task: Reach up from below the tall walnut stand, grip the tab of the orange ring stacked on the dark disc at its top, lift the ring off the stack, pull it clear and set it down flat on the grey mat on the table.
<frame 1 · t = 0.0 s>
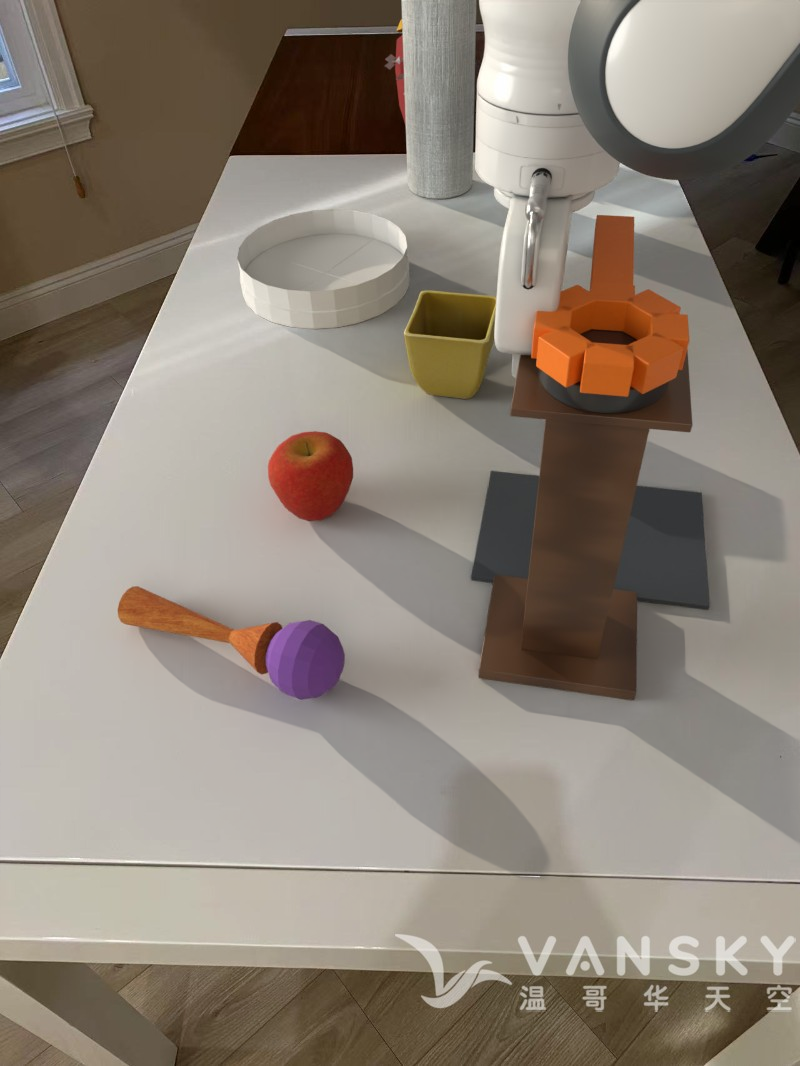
hand: (531, 336, 60), 22 cm above the table, tool pointing down, fingers open, 8 cm apart
kendama: (235, 654, 68), on the table
stand: (559, 638, 68), on the table
apple: (316, 506, 80), on the table
flower pot: (452, 387, 92), on the table
orange ring: (606, 351, 48), point 28 cm above the table, touching stand
alarm clock: (416, 129, 145), on the table
dish: (326, 284, 109), on the table
vase: (440, 187, 128), on the table
mat: (590, 536, 75), on the table
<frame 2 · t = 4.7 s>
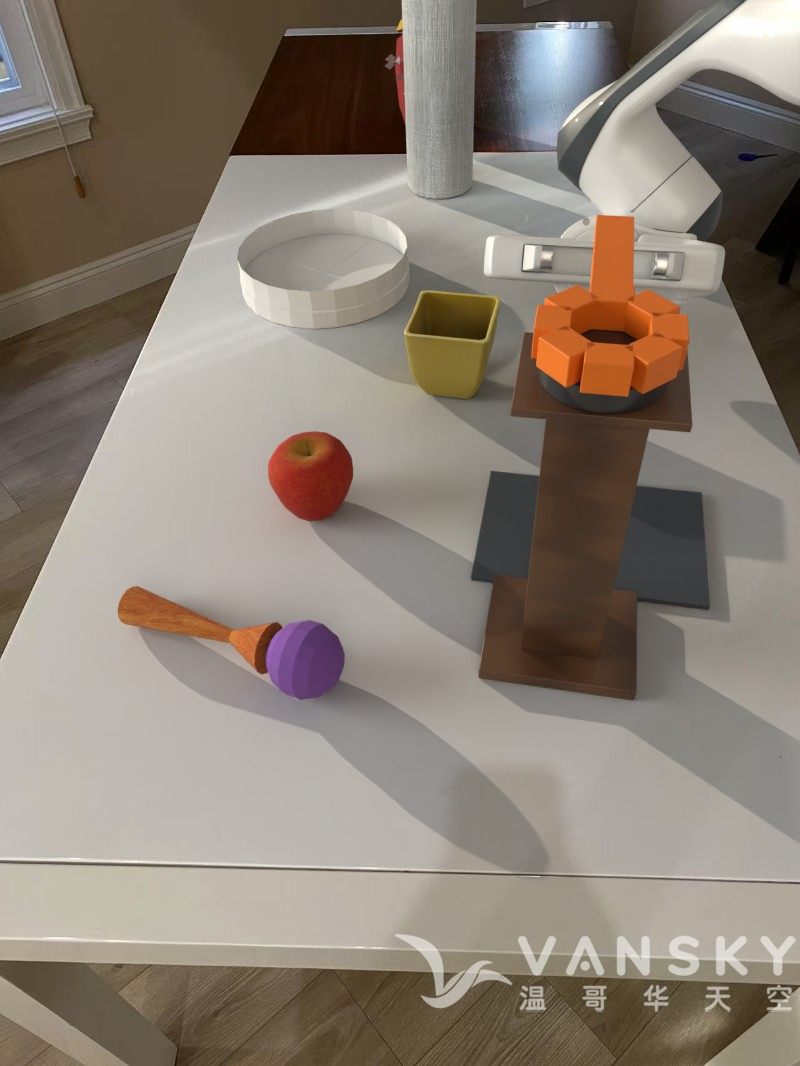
hand: (603, 260, 66), 22 cm above the table, tool pointing upward, fingers open, 8 cm apart
nothing on the table moved.
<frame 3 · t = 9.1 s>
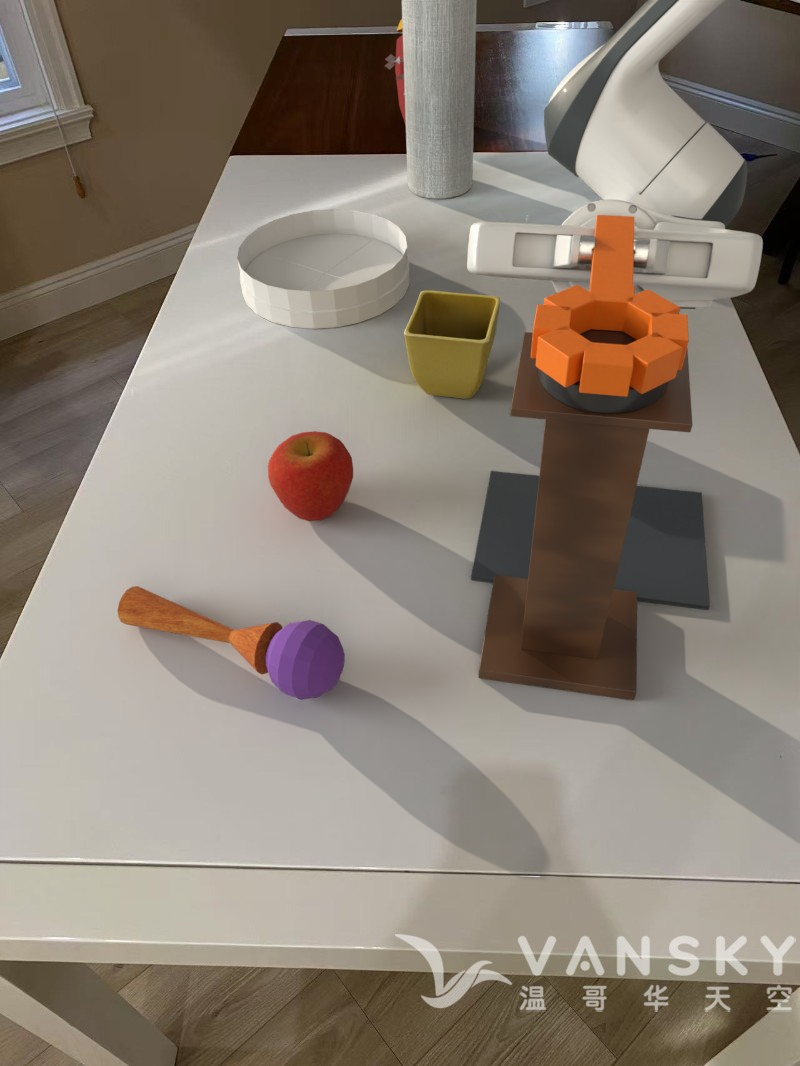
hand: (614, 251, 53), 29 cm above the table, tool pointing upward, fingers closed on orange ring, 2 cm apart
orange ring: (605, 351, 48), point 28 cm above the table, touching gripper, stand
everything else where it was.
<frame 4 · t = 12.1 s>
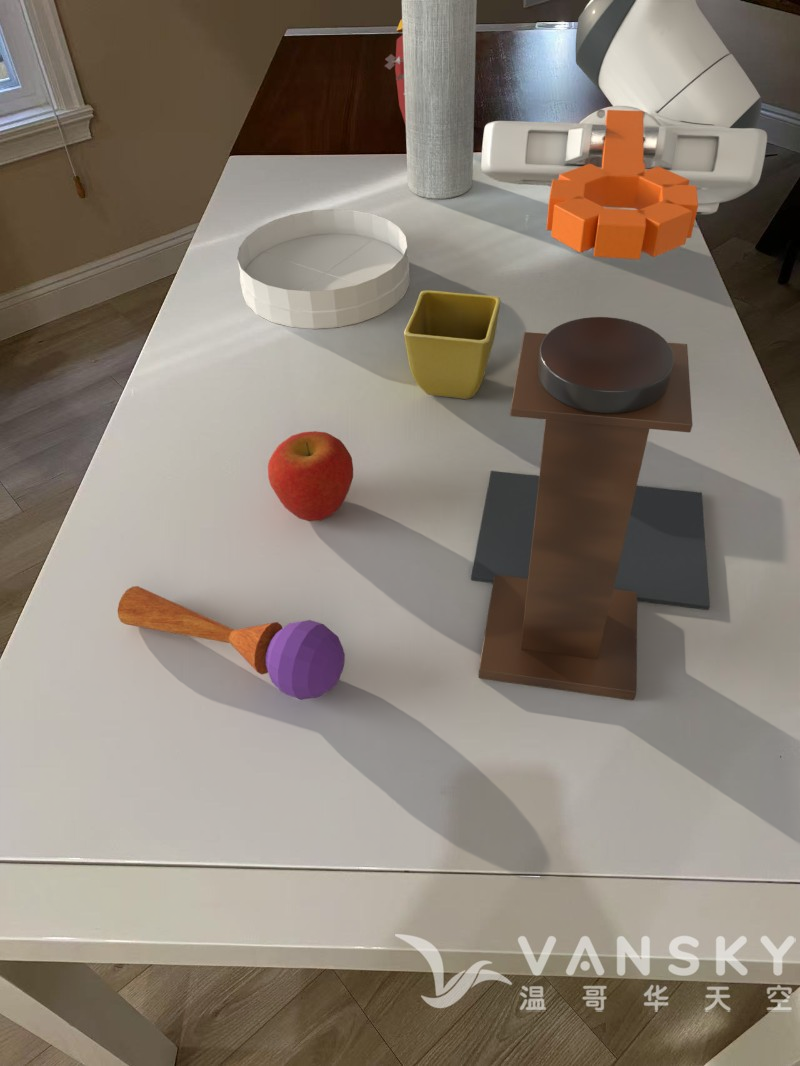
hand: (624, 139, 55), 33 cm above the table, tool pointing upward, fingers closed on orange ring, 2 cm apart
orange ring: (618, 224, 50), point 32 cm above the table, touching gripper
everything else where it was.
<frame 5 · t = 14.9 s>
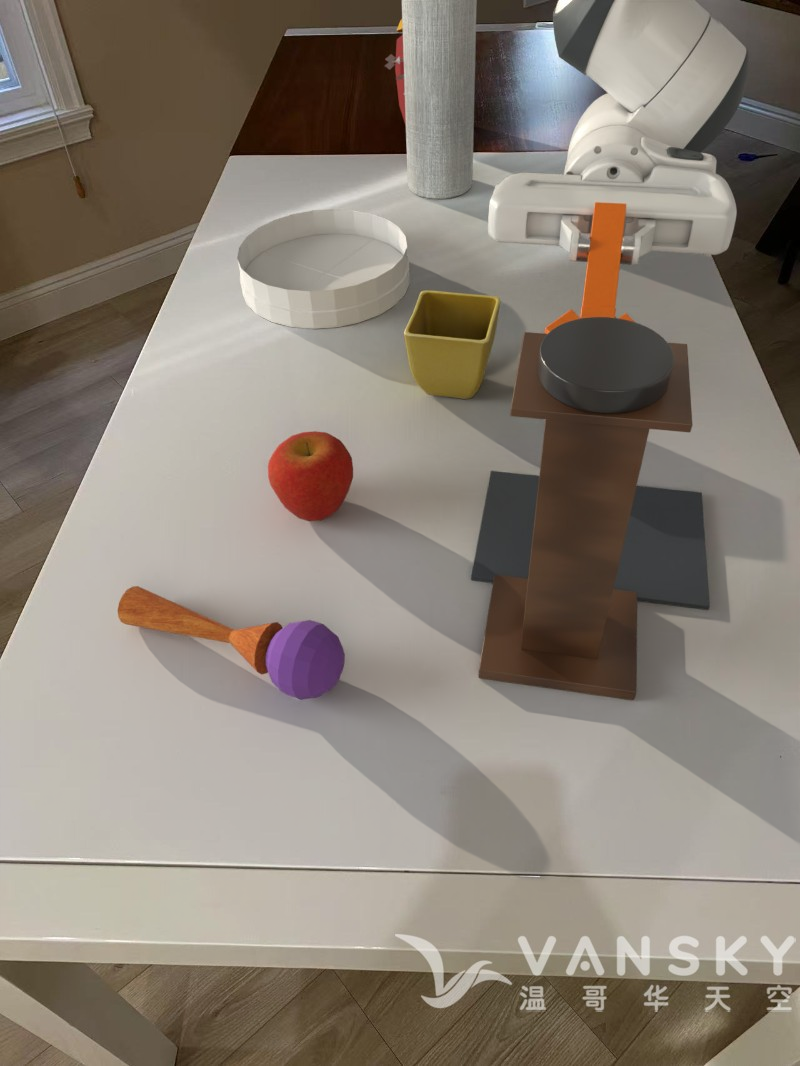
hand: (605, 254, 65), 23 cm above the table, tool horizontal, fingers closed on orange ring, 2 cm apart
orange ring: (591, 367, 64), point 17 cm above the table, tilted 28°, touching gripper
everything else where it was.
when the fingers open (8 cm above the table, at t = 19.3 s): orange ring drops 2 cm, resting on mat.
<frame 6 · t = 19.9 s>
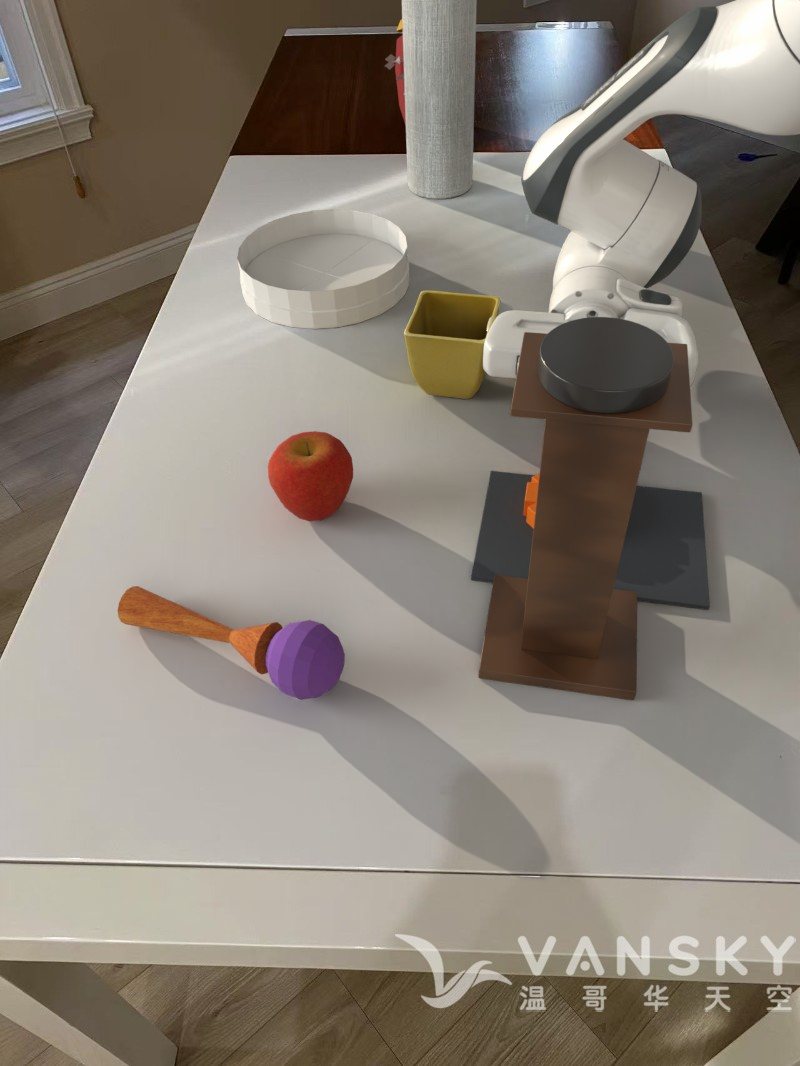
hand: (584, 400, 76), 8 cm above the table, tool horizontal, fingers open, 8 cm apart
orange ring: (569, 511, 77), resting on mat
everything else where it was.
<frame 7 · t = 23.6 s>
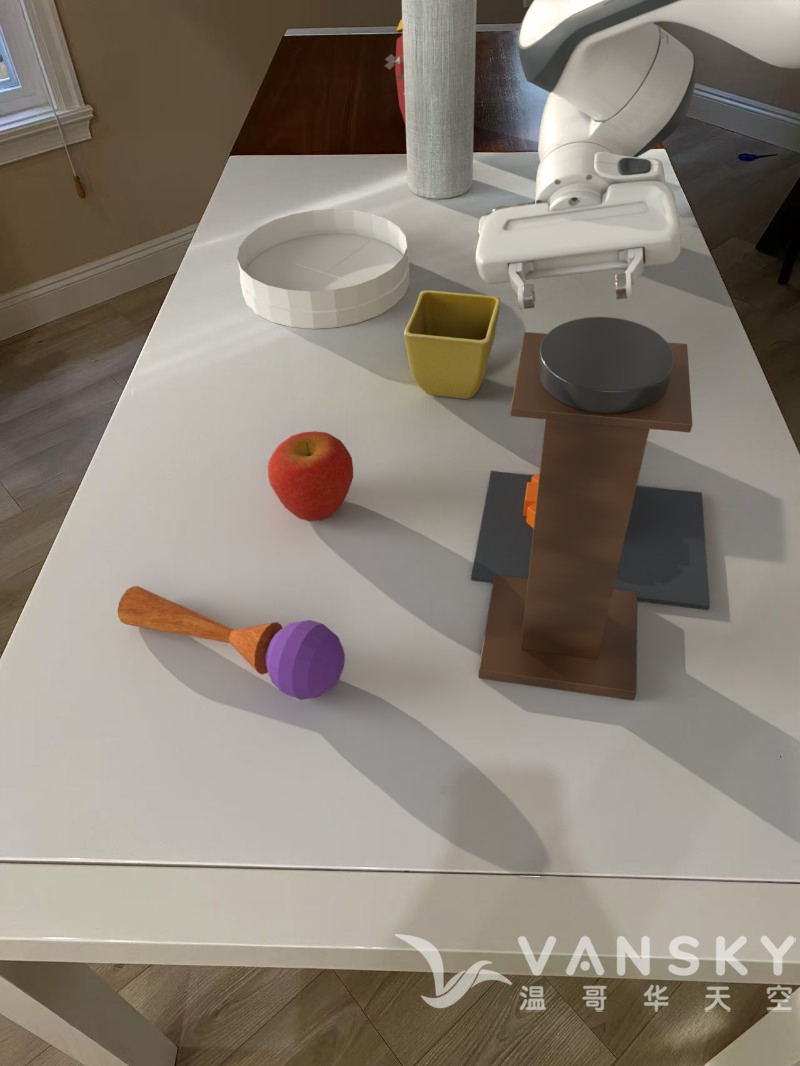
hand: (574, 299, 81), 12 cm above the table, tool tilted 70°, fingers open, 8 cm apart
nothing on the table moved.
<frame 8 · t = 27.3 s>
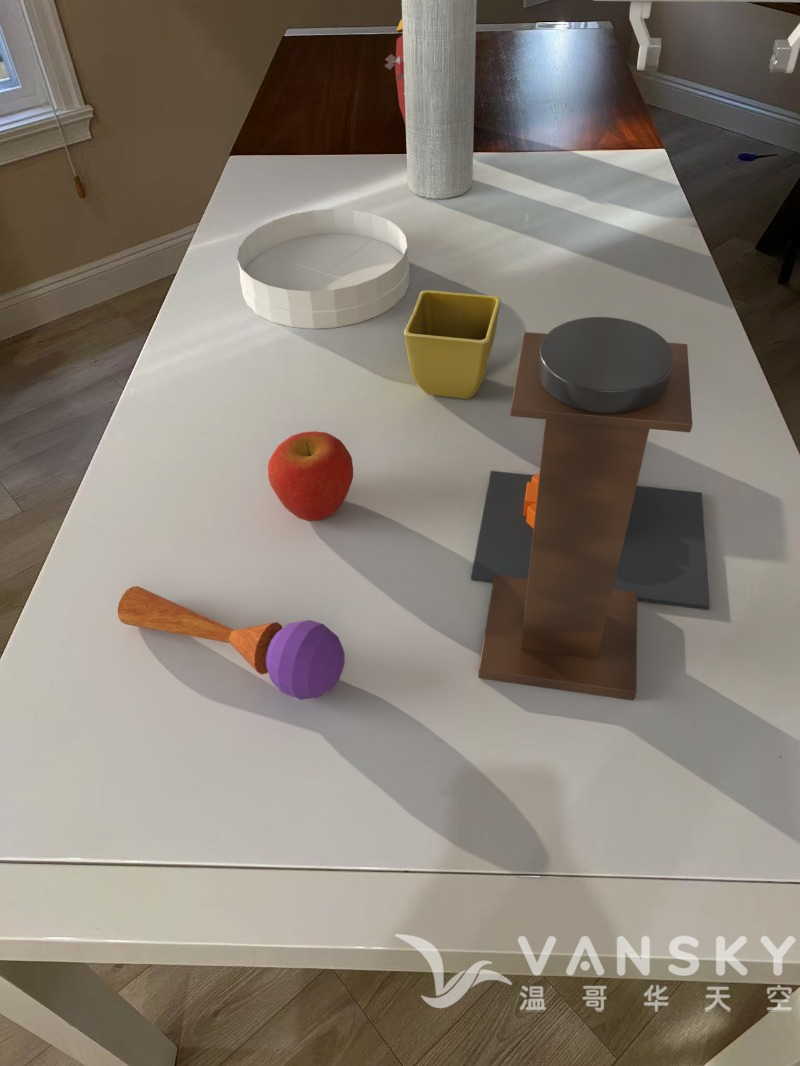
hand: (712, 69, 61), 34 cm above the table, tool pointing down, fingers open, 8 cm apart
nothing on the table moved.
at the end: orange ring inside the target area on the mat (3.2 cm from its centre), point 0.5 cm above the mat's base; the gripper is holding nothing; orange ring touching mat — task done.
